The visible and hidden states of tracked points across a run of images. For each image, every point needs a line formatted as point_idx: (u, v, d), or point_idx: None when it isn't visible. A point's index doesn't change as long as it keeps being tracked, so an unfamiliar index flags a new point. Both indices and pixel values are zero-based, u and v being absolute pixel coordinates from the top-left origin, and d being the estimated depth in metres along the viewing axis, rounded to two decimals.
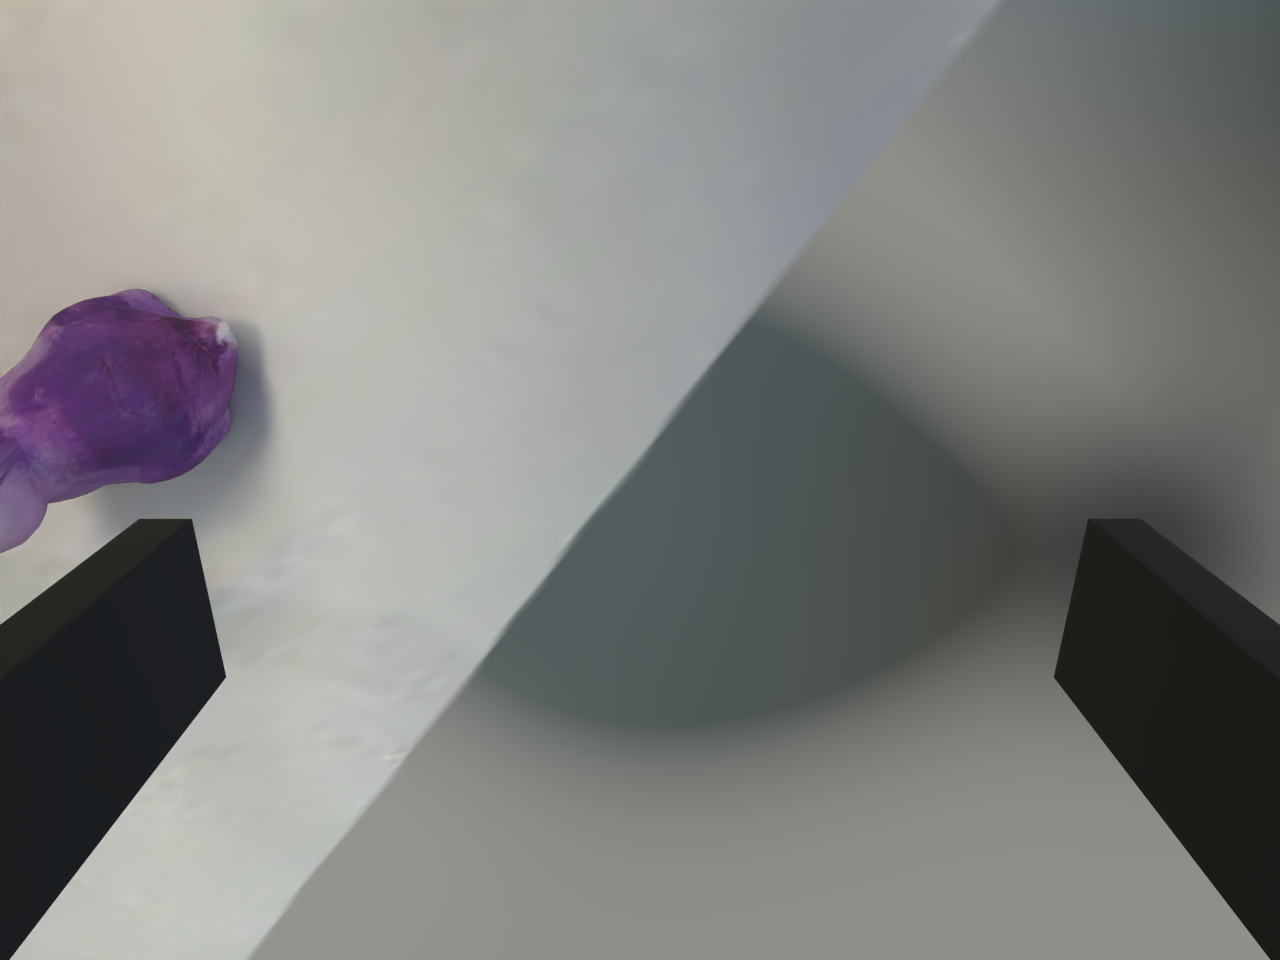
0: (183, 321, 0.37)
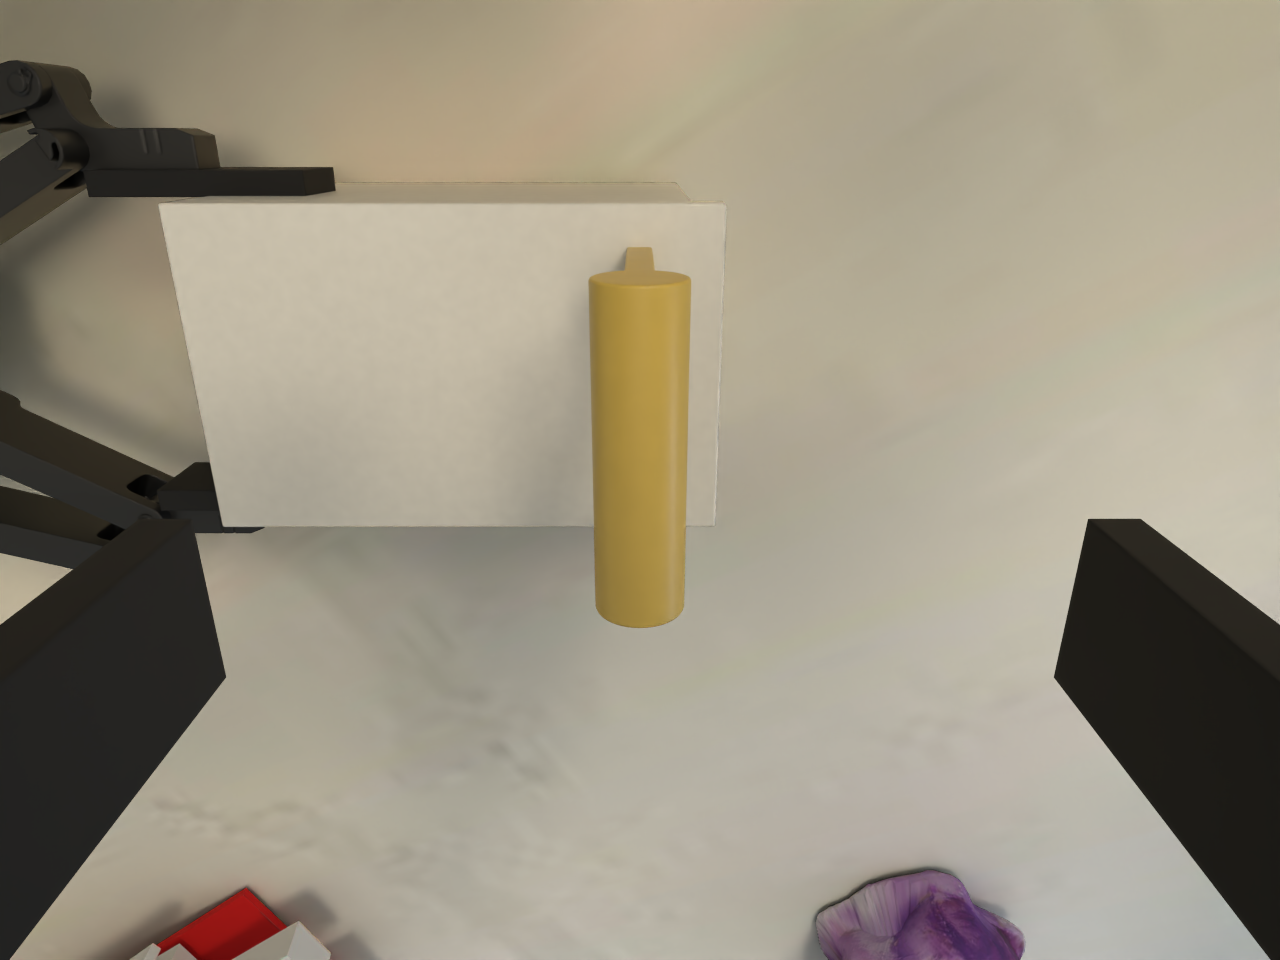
0: (1003, 934, 0.44)
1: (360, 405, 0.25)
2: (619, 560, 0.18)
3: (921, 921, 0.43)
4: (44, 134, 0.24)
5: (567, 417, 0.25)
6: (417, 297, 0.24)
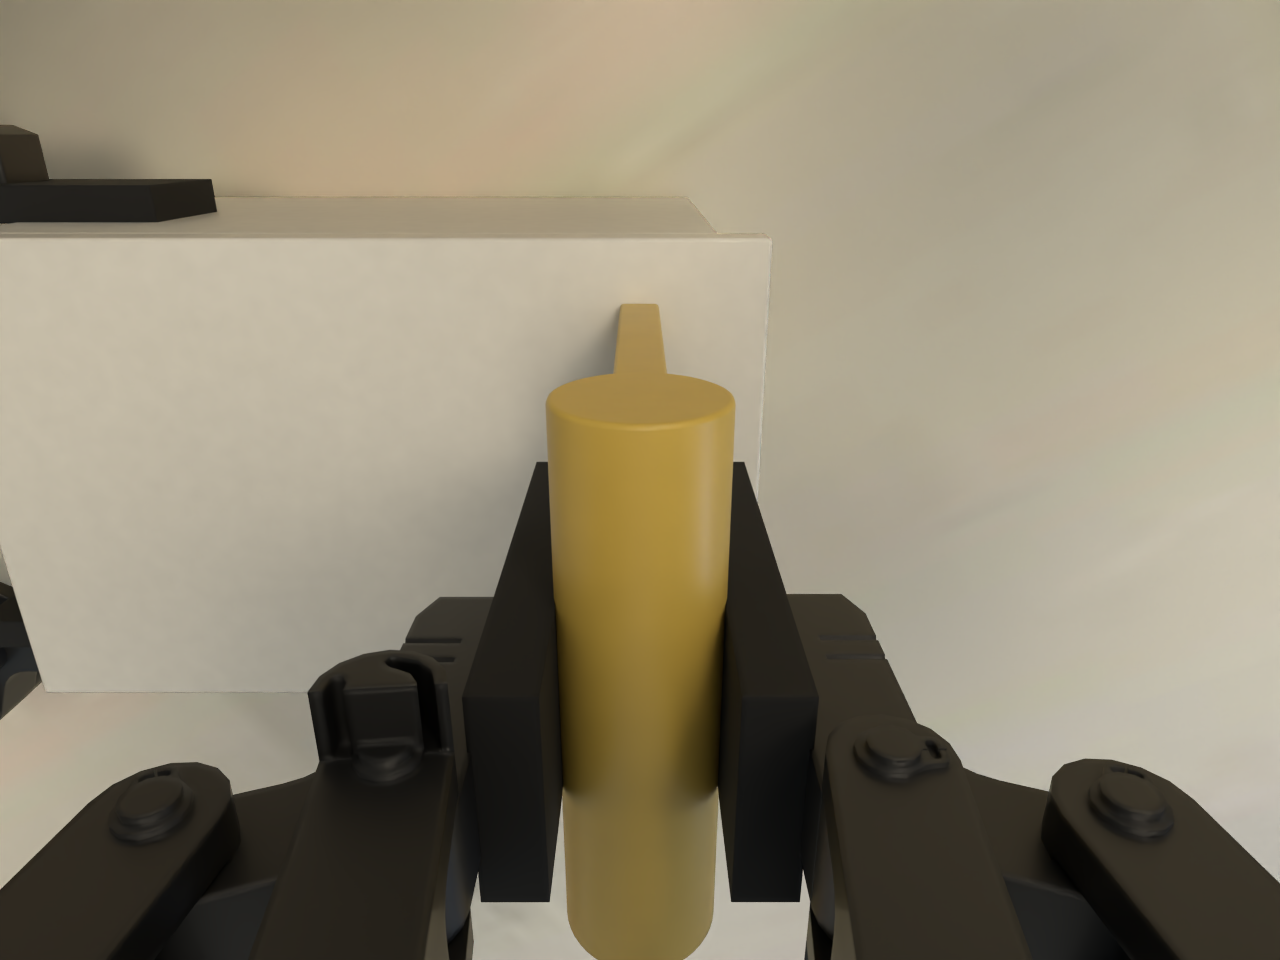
0: None
1: (231, 529, 0.17)
2: (605, 872, 0.11)
3: None
4: None
5: None
6: (307, 376, 0.16)
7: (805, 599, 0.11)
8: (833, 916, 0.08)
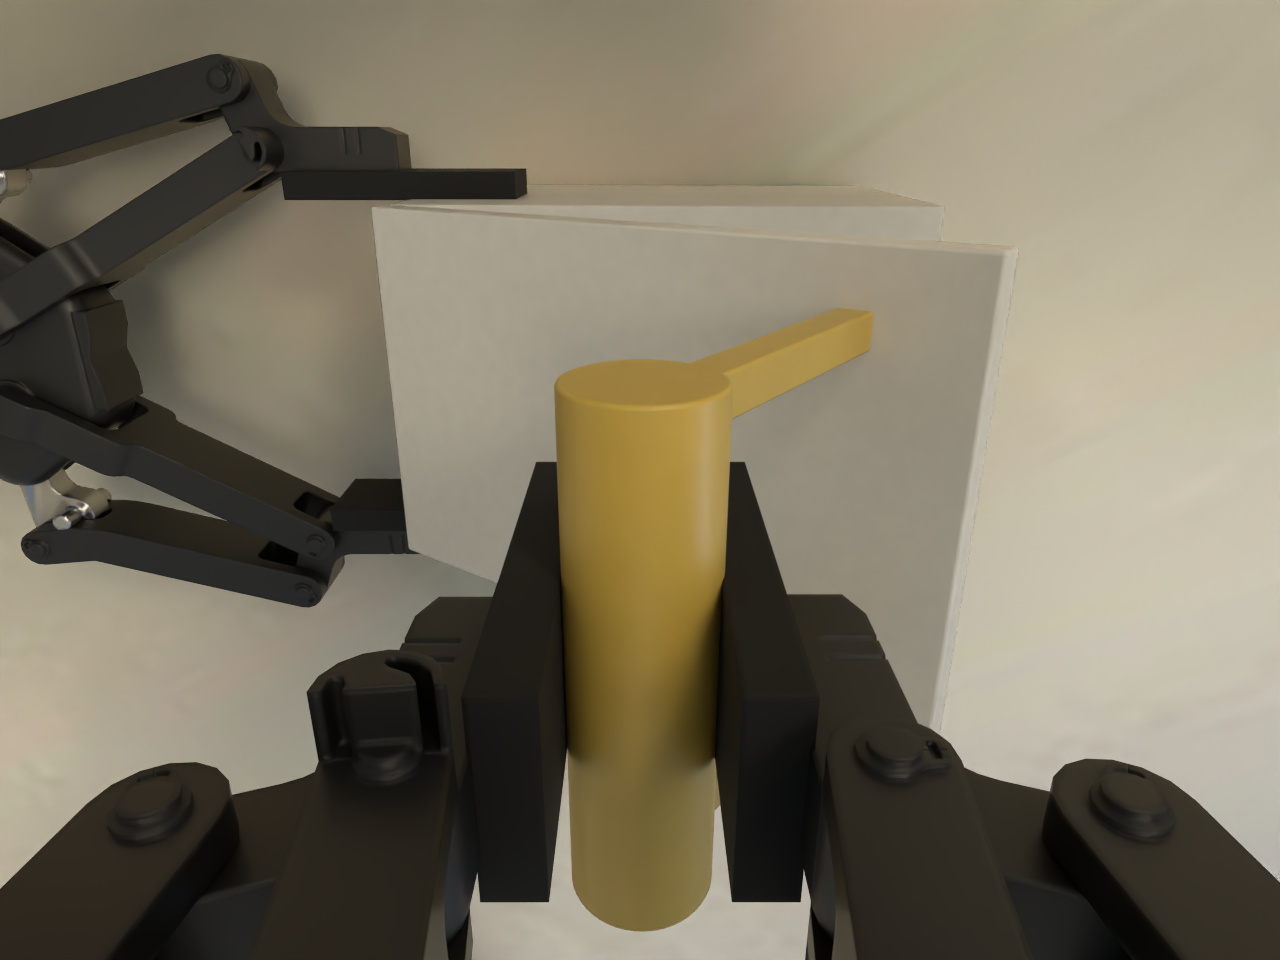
0: None
1: (521, 456, 0.21)
2: (576, 810, 0.12)
3: None
4: (248, 133, 0.23)
5: None
6: (581, 340, 0.19)
7: (806, 599, 0.11)
8: (834, 916, 0.08)
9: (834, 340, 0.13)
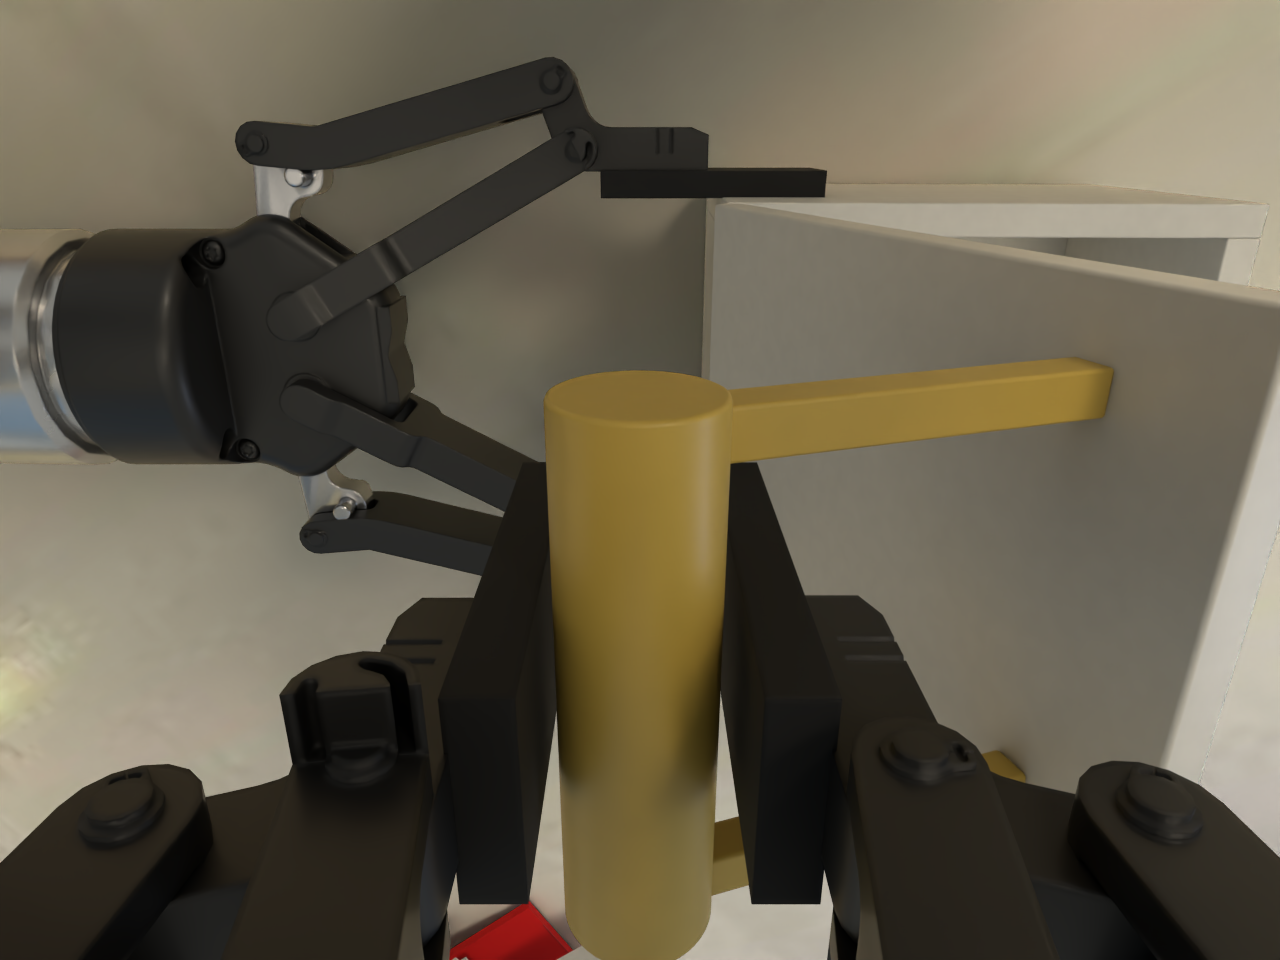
0: None
1: (785, 467, 0.20)
2: None
3: None
4: (581, 133, 0.23)
5: (945, 604, 0.15)
6: (841, 356, 0.17)
7: (822, 600, 0.11)
8: (857, 917, 0.08)
9: (1008, 394, 0.11)
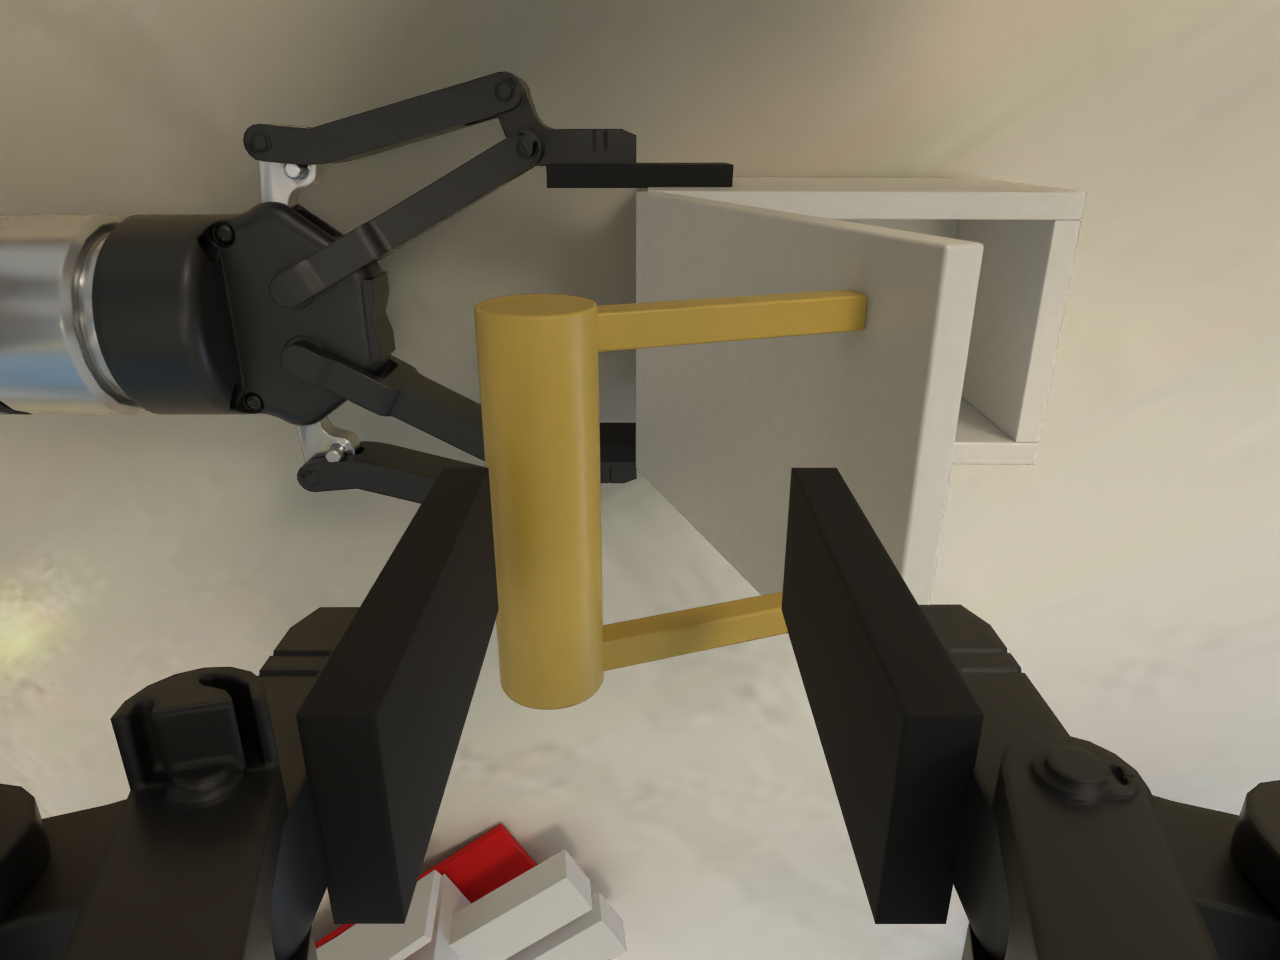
0: None
1: (689, 400, 0.25)
2: None
3: None
4: (529, 134, 0.29)
5: (788, 484, 0.20)
6: None
7: (925, 610, 0.11)
8: (997, 935, 0.08)
9: (791, 310, 0.16)
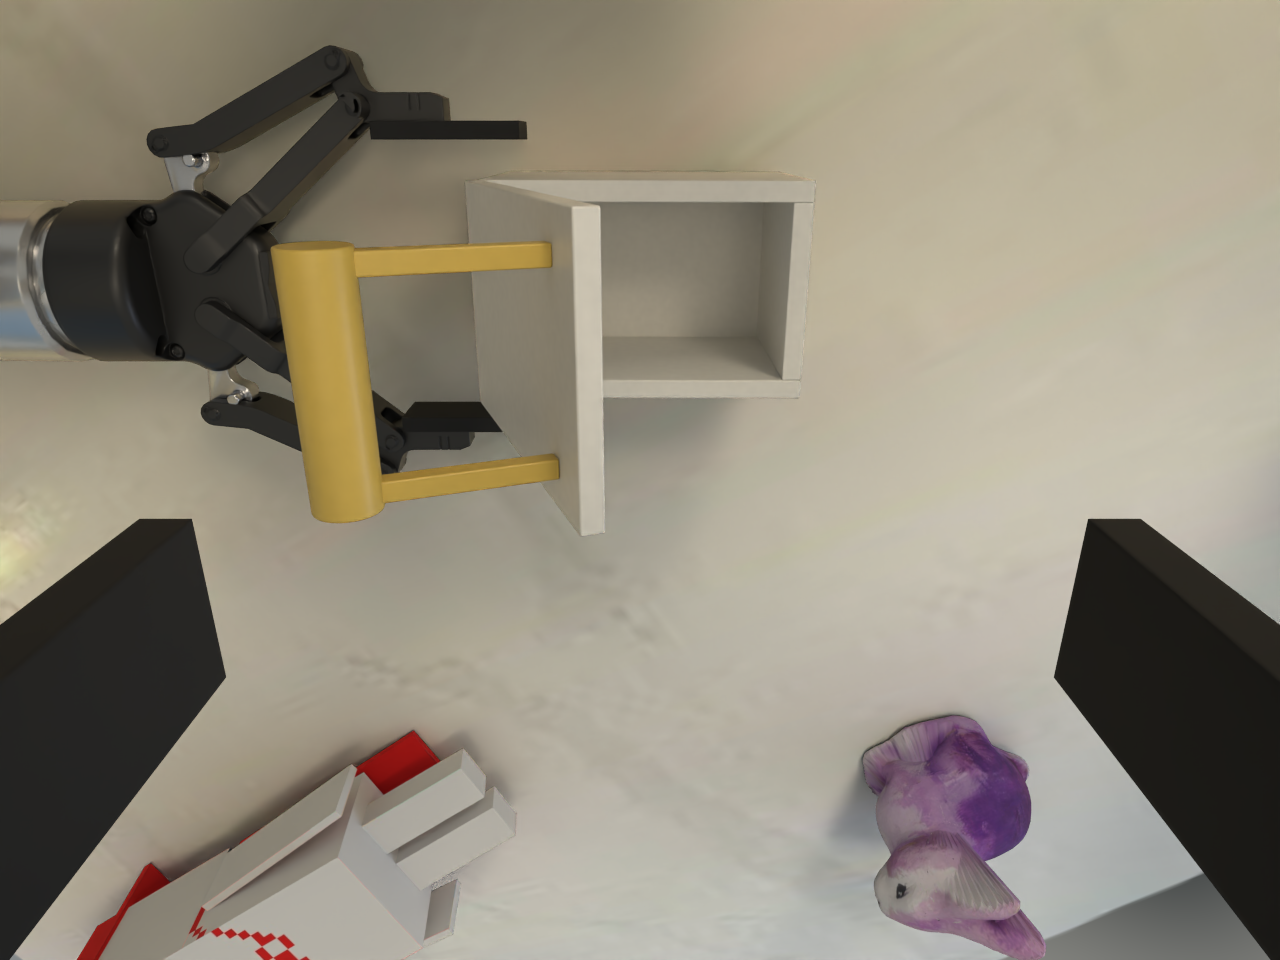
0: (1011, 762, 0.57)
1: (497, 338, 0.33)
2: None
3: (948, 747, 0.56)
4: (348, 94, 0.36)
5: (537, 386, 0.28)
6: None
7: None
8: None
9: (494, 252, 0.24)
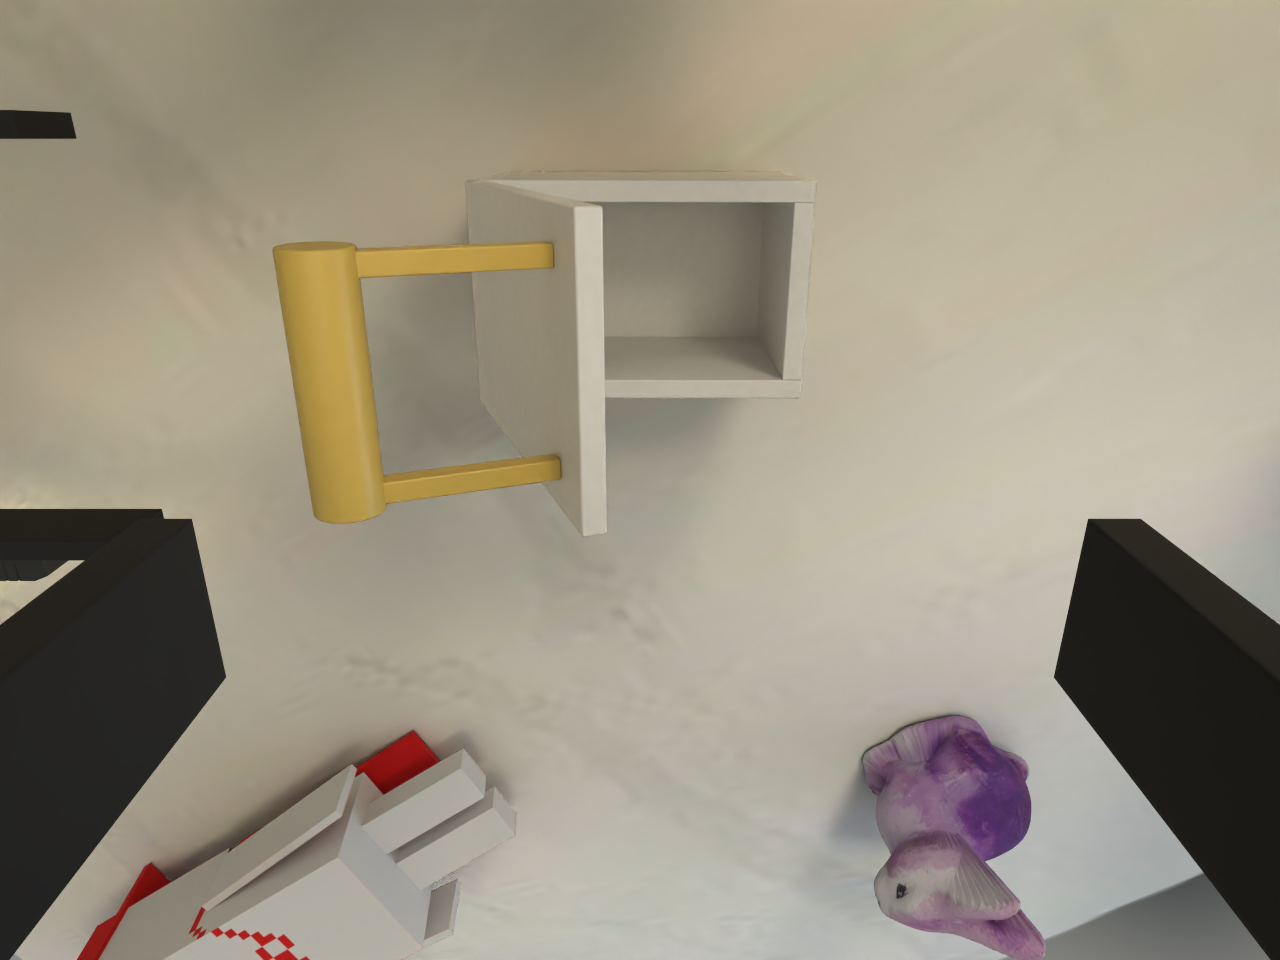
0: (1011, 762, 0.57)
1: (498, 338, 0.33)
2: None
3: (948, 747, 0.56)
4: None
5: (538, 386, 0.28)
6: None
7: None
8: None
9: (496, 253, 0.24)
